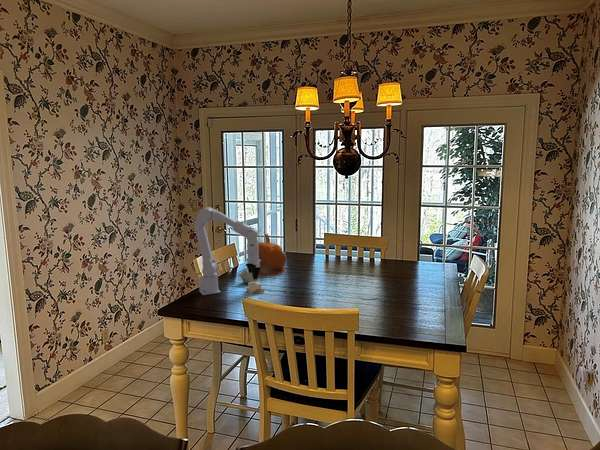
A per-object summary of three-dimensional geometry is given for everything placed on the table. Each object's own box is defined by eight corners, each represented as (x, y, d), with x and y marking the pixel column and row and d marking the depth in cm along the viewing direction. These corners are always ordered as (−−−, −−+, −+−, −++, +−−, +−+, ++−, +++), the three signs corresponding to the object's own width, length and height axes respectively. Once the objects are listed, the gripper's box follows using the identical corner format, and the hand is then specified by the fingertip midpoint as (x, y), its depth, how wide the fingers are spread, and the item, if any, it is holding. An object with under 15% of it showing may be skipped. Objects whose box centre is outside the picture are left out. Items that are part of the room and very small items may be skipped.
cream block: (250, 290, 226) (250, 285, 226) (248, 287, 231) (248, 282, 231) (261, 288, 228) (261, 284, 228) (258, 286, 233) (258, 281, 233)
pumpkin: (267, 263, 288) (266, 229, 285) (295, 270, 271) (294, 233, 268) (240, 270, 272) (239, 234, 269) (268, 278, 255) (267, 239, 252)
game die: (251, 288, 247) (261, 274, 248) (245, 287, 239) (256, 272, 240) (239, 279, 250) (249, 265, 251) (233, 278, 242) (243, 263, 243)
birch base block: (251, 295, 226) (251, 290, 226) (246, 291, 232) (246, 287, 232) (264, 293, 229) (264, 288, 229) (259, 289, 235) (259, 285, 235)
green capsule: (251, 282, 227) (251, 274, 226) (248, 280, 231) (248, 272, 230) (259, 281, 229) (259, 273, 228) (256, 279, 233) (256, 271, 232)
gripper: (265, 254, 222) (266, 280, 225) (255, 248, 235) (256, 273, 238) (252, 255, 219) (253, 282, 222) (242, 250, 232) (243, 275, 235)
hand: (253, 278), depth 229 cm, fingers closed on green capsule, 4 cm apart
